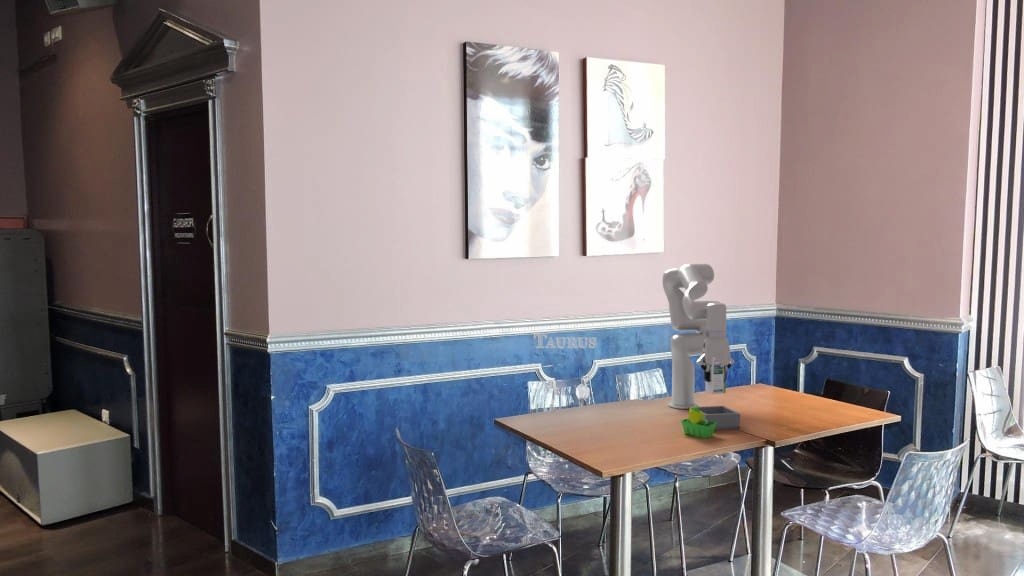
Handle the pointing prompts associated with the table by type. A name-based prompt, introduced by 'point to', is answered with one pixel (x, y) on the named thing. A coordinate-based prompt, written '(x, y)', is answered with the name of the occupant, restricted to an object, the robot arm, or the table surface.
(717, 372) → the syrup box
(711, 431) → the fruit basket
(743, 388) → the table surface
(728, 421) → the bin
